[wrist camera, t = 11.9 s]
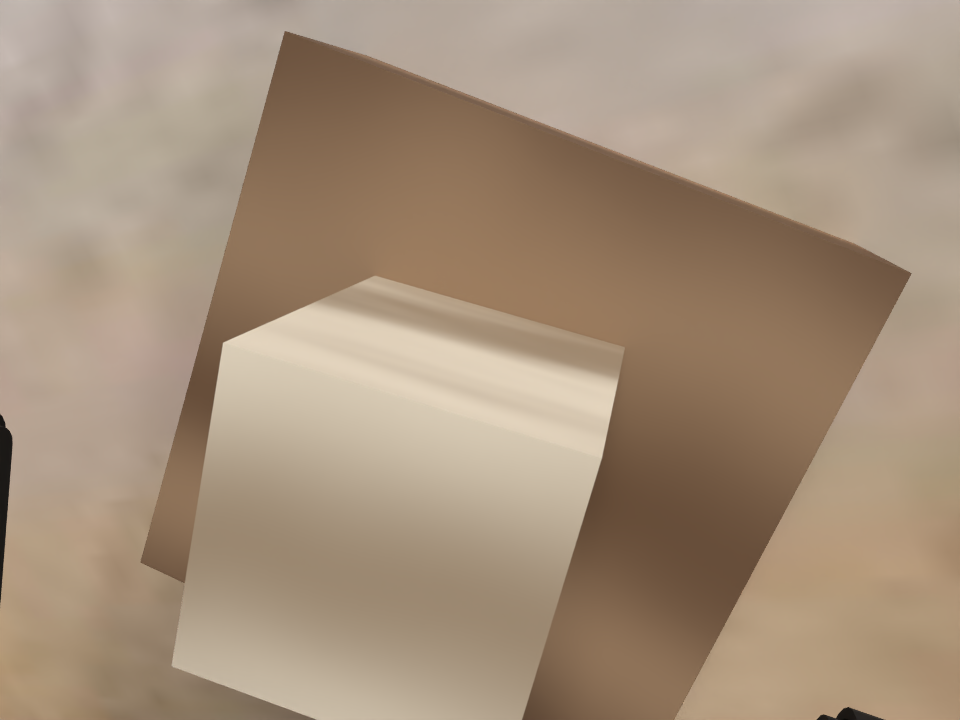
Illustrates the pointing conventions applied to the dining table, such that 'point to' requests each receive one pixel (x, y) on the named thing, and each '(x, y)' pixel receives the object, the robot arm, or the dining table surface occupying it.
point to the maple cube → (392, 505)
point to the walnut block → (569, 306)
